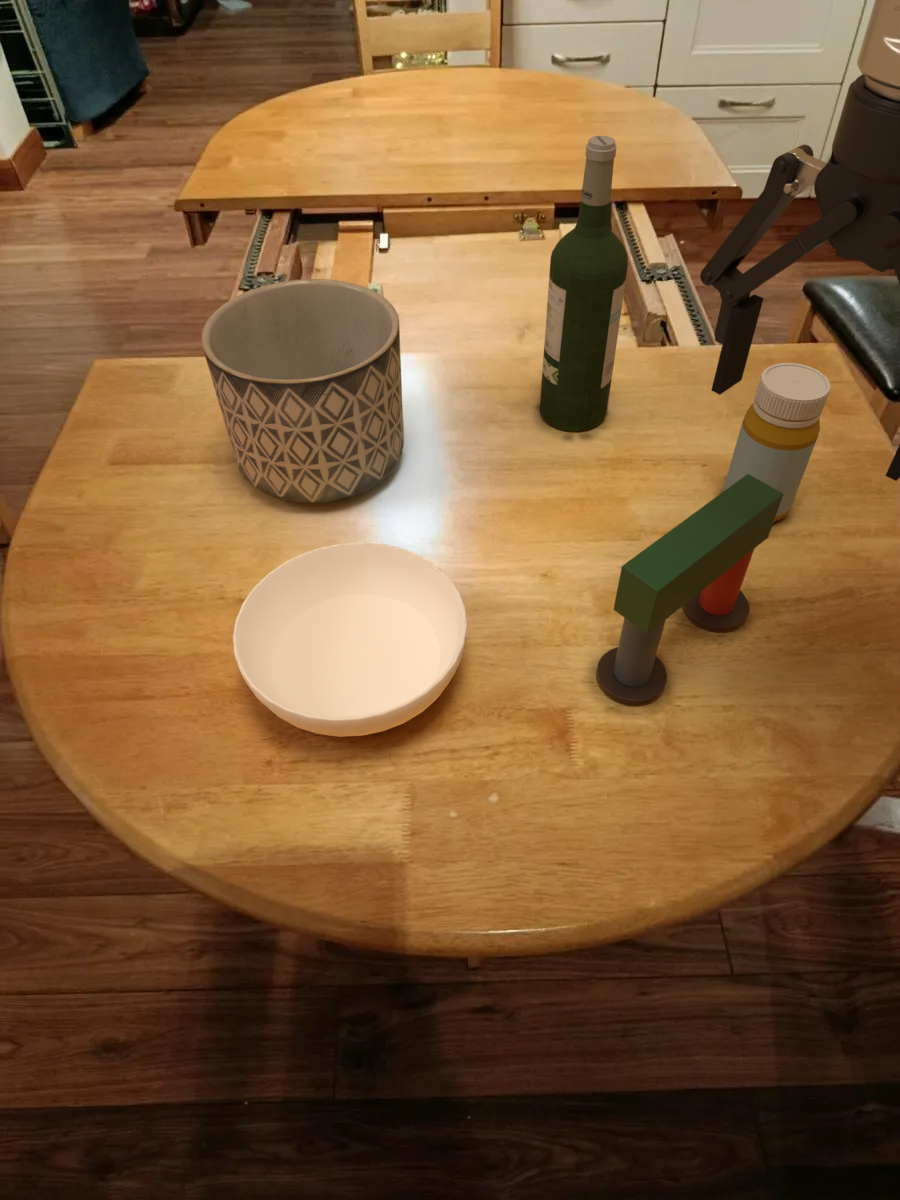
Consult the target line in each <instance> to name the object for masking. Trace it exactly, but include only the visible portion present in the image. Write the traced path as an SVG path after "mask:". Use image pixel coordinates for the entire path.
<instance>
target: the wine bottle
mask: <svg viewBox="0 0 900 1200" xmlns="http://www.w3.org/2000/svg"><path fill="white" fill-rule="evenodd" d="M616 155H617V144H616V140H615V138H613V137H612V136H608V135H594V136H591V137H589V139H588V142H587V144H586V146H585V164H584V172H583V179H582V185H581V186H582V188H581V195H580V203H579V210H578V218H577V221H576V224H575V226H574V228H572V229H571V230H570V231H568V232H567V233H566V234H565V235H563V236H562V237H561V238H560V239H559V240H558V241H557V242H556V244H555V246H554V248H553V249H552V251H551V255H550V259H549V261H550V262H549V275H548V276H549V277H548V289H547V303H546V318H545V328H544V329H545V331H544V342H543V343H544V344H543V359H542V369H541V370H542V371H541V372H542V373H541V382H540V383H541V384H540V385H541V386H540V399H539V413H540V416H541V417H542V419H543V420H544V421H545V422H546V423H547V424H548V425H550V426H551V427H553V428H555V429H558V430H561V431H565V432H576V433H577V432H585V431H589V430H592V429H594V428H596V427H598V426H599V425H600V424H601V423H603V421H604V420H605V418H606V416H607V414H608V406H609V400H610V393H611V386H612V378H613V373H614V372H613V371H614V365H615V359H616V350H617V345H618V338H619V330H620V323H621V316H622V310H623V303H624V302H623V301H624V296H625V289H626V288H625V287H626V281H627V274H628V268H629V267H628V266H629V260H628V259H629V258H628V252H627V250H626V246H625V245H624V244H623V242H622V241H621V240H620V239H619V237H618V236H617V235H616V233H614V232H613V231H612V229H611V227H610V222H609V221H610V210H611V198H612V186H613V174H614V164H615V163H614V162H615V158H616Z"/></svg>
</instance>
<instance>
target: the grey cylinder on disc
mask: <svg viewBox="0 0 900 1200" xmlns="http://www.w3.org/2000/svg"><path fill="white" fill-rule="evenodd" d="M622 621H623V622H622V627H621V631H620V636H619V641H618V645H617V646H615V647H614V648H611V649H609V650H608V651H606V652H605V653H603V655H601V657H600V659H599V660H598V662H597V665H596V666H597V667H596V673H595V677H596V681H597V684H598V686H599V688H600V689H601V691H602V692H603V693H604V694H605V695H606V696H607V697H608V698H610V699H611V700H613V701H614V702H616V703H619V704H621V705H626V706H632V707H639V706H645V705H648V704H649V705H650V704H651V703H653V702H655V701H657V699H659V698H660V697H661V695H663V693H664V691H665V689H666V685H667V682H668V673H667V668H666V666H665V664H664V663H663V662H662V660H661V659H660V658H659V657H658V656H657V654H658V651H659V647H660V643H661V639H662V635H663V632H664V629H665V628H664V627H665V624H666V620H665V621H664V622H662V623H661V624H660V625H659V626H657V627H656V628H655V629H654V630H652V631H651V632H650V633H649V634H646V633H645V632H643V631H642V630H641V629H639V628H638V627H636V626H635V625H634V624H632V623H631V622H630V621H628V620H627V619H625V618H624V617H623V620H622Z"/></svg>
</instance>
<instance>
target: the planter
mask: <svg viewBox="0 0 900 1200" xmlns="http://www.w3.org/2000/svg"><path fill="white" fill-rule="evenodd" d="M400 332H401V331H400V317H399V314H398V312H397V310H396V308H395V307H394V305H393V304H392V303H391V302H390V301H389V300H388V299H387V298H386V297H385V296H383V295H382V294H380V293H378V292H377V291H375V290H372V289H370V288H368V287H366V286H363V285H360V284H356V283H353V282H348V281H344V280H337V279H329V278H328V279H325V278H303V279H302V278H301V279H291V280H285V281H279V282H278V281H277V282H274V283H269V284H266V285H262V286H258V287H255V288H253V289H250V290H248V291H245V292H243V293H241V294H238V295H237V296H235V297H233V298H231V299H229V300H227V301H226V302H225V303H223V304H222V305H221V306H219V308H216V310H215V311H214V312H213V313H211V315H210V316H209V317H208V319H207V320H206V322H205V324H204V326H203V328H202V331H201V337H200V340H201V348H202V351H203V354H204V357H205V361H206V364H207V368H208V371H209V375H210V377H211V381H212V384H213V387H214V388H213V389H214V391H215V395H216V398H217V401H218V406H219V408H220V411H221V415H222V418H223V423H224V425H225V429H226V433H227V435H228V440H229V441H230V442H229V443H230V447H231V449H232V453H233V457H234V459H235V463H236V465H237V468H238V470H239V472H240V474H242V477H243V478H244V479H245V480H246V481H247V482H248V484H250V485H251V486H252V487H254V488H255V489H256V490H258V491H259V492H262V493H264V494H266V495H268V496H270V497H273V498H275V499H279V500H283V501H288V502H295V503H306V504H308V503H309V504H312V503H313V504H314V503H315V504H317V503H327V502H334V501H338V500H339V501H340V500H343V499H347V498H350V497H353V496H356V495H358V494H361V493H362V492H365V491H367V490H369V489H371V488H372V487H374V486H376V485H377V484H380V482H381V481H383V480H384V479H385V478H386V477H388V475H390V473H392V471H393V470H394V469H395V468H396V466H397V464H398V463H399V461H400V459H401V458H402V454H403V450H404V446H405V445H404V443H405V439H404V437H405V436H404V414H403V411H404V410H403V385H402V359H401V333H400Z"/></svg>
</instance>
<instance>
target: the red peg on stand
mask: <svg viewBox="0 0 900 1200" xmlns="http://www.w3.org/2000/svg"><path fill="white" fill-rule="evenodd" d="M754 551H755V549H753V550H752V551H751V552H750V553H748V554H747V555H746V556H745V557H743V558H742V559H741V560H740V561H738V562H737V563H736V564H735V565H733V566H732V567H731V568H730V569H728V570H727V571H726V572H725V573H723V574H722V575H721V576H720V577H718V578H717V579H716V580H715V581H713V582H712V583H711V584H710V585H708V586H707V587H706V588H705V589H703V590H702V591H701V592H700V593H698V594H697V595H696V596H695V597H693V598H692V599H691V600H690V601H688V602H687V603H686V604H685V605H684V606H682V607H681V609H682V611H683V613H684V615H685V617H686V618H687V620H688V621H690V622H691V623H692V624H693V625H695V626H696V627H698V628H700V629H701V630H704V631H707V632H711V633H715V634H717V633H718V634H725V633H730V632H734V631H736V630H738V629H740V628H741V627H742V626H744V625H745V623H746V621H747V620H748V617H749V614H750V603H749V600H748V598H747V596H746V595H745V594H744V592H743V591H742V590H741V588H742V585H743V582H744V579H745V577H746V574H747V571H748V568H749V566H750V563H751V560H752V557H753V554H754Z"/></svg>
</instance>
